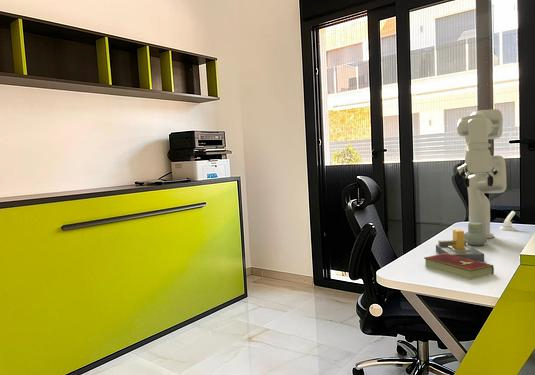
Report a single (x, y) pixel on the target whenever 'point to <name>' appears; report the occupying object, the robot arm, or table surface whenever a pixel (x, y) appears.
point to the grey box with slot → (467, 252)
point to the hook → (508, 223)
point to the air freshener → (475, 235)
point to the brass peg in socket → (458, 239)
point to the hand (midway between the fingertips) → (478, 186)
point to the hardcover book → (459, 266)
